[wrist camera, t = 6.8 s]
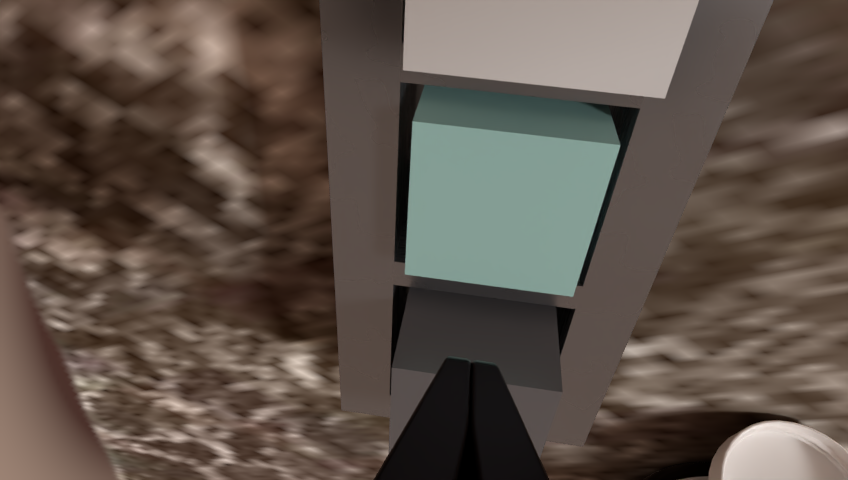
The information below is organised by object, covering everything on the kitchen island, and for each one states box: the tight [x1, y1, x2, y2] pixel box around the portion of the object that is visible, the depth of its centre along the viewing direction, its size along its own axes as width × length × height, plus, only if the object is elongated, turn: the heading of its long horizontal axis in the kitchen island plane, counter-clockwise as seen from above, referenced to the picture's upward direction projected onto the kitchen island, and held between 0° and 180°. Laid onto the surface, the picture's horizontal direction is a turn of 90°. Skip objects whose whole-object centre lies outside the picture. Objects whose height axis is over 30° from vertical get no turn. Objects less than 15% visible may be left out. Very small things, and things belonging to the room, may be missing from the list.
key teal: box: [405, 85, 620, 297], centre depth 17 cm, size 5×5×4 cm
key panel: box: [319, 0, 773, 446], centre depth 15 cm, size 10×30×4 cm, turn 176°
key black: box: [389, 287, 563, 458], centre depth 19 cm, size 5×5×4 cm
